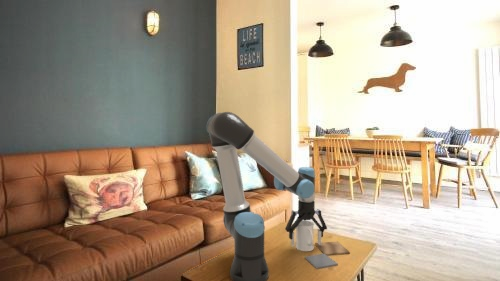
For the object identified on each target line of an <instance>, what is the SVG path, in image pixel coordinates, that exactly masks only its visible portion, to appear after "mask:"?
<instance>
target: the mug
mask: <svg viewBox="0 0 500 281" xmlns="http://www.w3.org/2000/svg"><path fill="white" fill-rule="evenodd" d="M314 225H315V223H314V221H313V222H312V220H302V221H301V222H300V223H299V225H298V226H297V227H296V229H295V233H296V234H295V236H296V239H295V240H296V242H295V248H296V249H297V250H298V251H300V252H311V251H313V250H314V249H315V247H314Z"/></svg>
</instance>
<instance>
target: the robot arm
mask: <svg viewBox="0 0 500 281" xmlns="http://www.w3.org/2000/svg"><path fill="white" fill-rule="evenodd" d="M206 133H207V134H208V136H209V138H210V142H211V143H210V144H211V148H212V149H214V151H216V157H217V162H218V168H219V173H220V178H221V185H222V189H223V190H222V191H223V195H224V201H225V202H224V203H225V205H224V206H223V208H222V209H223V210H222V211H223V218H222V220H223V224H224V227H225V230H227V232H228V233H229V234H230V235H231V237H232V238H233V242H234V258H233V260H232V263H231V267H230V269H229V270H230V271H229V274H230V275H229V276H230V279H231V280H232V281H267V280H268V279H269V276H270V274H269V273H270V270H269V267H268V263H267V260H266V257H265V228H266V227H265V221H264V218H263V217H262V216H261V215H260V214H259V213H255V212H252V210H251V205H250V202H248V201H247V200H246V196H245V190H244V184H243V179H242V173H241V168H240V167H241V166H240V161H239V155H238V151H243V152H244V153H245V154H246V155H247V156H249V157H250V158H252V160H253V161H255V162H256V163H257V164H258V165H260V166H261V167H262V168H264V169H265V170H266V172H267V171H268V173H270V174H271V175H272V176H273V185H274V188H275V189H276V191H288V192H290V193H292V194H294V195H295V196H298V197H297V198H298V199H297V200H298V204H297V205H298V208H297V210H291V213H290V214H291V215H290V217H289V219H288V221H287V224H286V226H285V228H284V229H285V231H286V232H288V238H289V239H290V244H291V247H292V248H294V247H295V232H294V231H296V227H297V226H298V225H299V223H300V222H301V221H302V220H306V221H313V224H314V225H316V227H317V228H318V229H317V243H318V244H319V245H321V243H322V238H323V237H324V231H325V230H327V229H328V226H327V225H326V222H325V220H324V218H323V215H322V211H321V210H320V209H315V207H316V206H315V197H316V196H315V194H316V193H315V191H316V190H315V188H316V187H315V186H316V173H315V169H314V168H313V167H311V166H302V167H299V168H298V171H297V170H296V169H295V168H293V167H292V165H290V164H288V162H287V161H286V160H284V159H283V158H282V157H281V156H280V155H279V154H278V153H276V152H275V151H274V150H273V149H272V148H271V147H270V146H269V145H267V144H266V143H265V142H264V141H262V139H261V138H259V137H258V136H257V135H255V130H254V129H253V128H252V127H251V126H250V125H248V124H247V122H245V121H244V119H243V118H241V117H240V116H239V115H237V114H236V113H234V112H231V111H223V112H217V113H214V114H213V115H212V116H210V118H209V119H208V121H207V123H206ZM297 215H298V216H297ZM315 215H316V216H317V217H318V219H319V222H320V223H319V222H318V220H316V218H315V217H314V216H315ZM296 217H297V218H296ZM295 218H296V220H295Z"/></svg>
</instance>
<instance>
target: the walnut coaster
mask: <svg viewBox="0 0 500 281" xmlns="http://www.w3.org/2000/svg"><path fill="white" fill-rule="evenodd" d="M314 245H315V246H316V247H317V249H318V250H319V251H320V252H321V254H326V255H327V256H328V257H329V256H338V255H340V256H341V255H349V254H350V253H351V252H350V251H349V249H347V248H346V247H345V246H344V245H343V244H341V242H340V241H327V242H326V241H325V242H324V241H323V242H321V245H319V244H318V242H315V243H314Z"/></svg>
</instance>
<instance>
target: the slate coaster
mask: <svg viewBox="0 0 500 281" xmlns="http://www.w3.org/2000/svg"><path fill="white" fill-rule="evenodd" d="M304 259H305V260H306V261H307V262H308V263H309V264H310V265H312V266H313V267H314V268H315V269H316V270H319V269H325V268H330V267H336V266H338V265H339V264H338V262H337V261H335V260H333V259H332V257H330V256H329V255H328V256H327V255H326V254H323V253H320V254H319V253H318V254H313V255H308V256H306V255H305V256H304Z"/></svg>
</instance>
